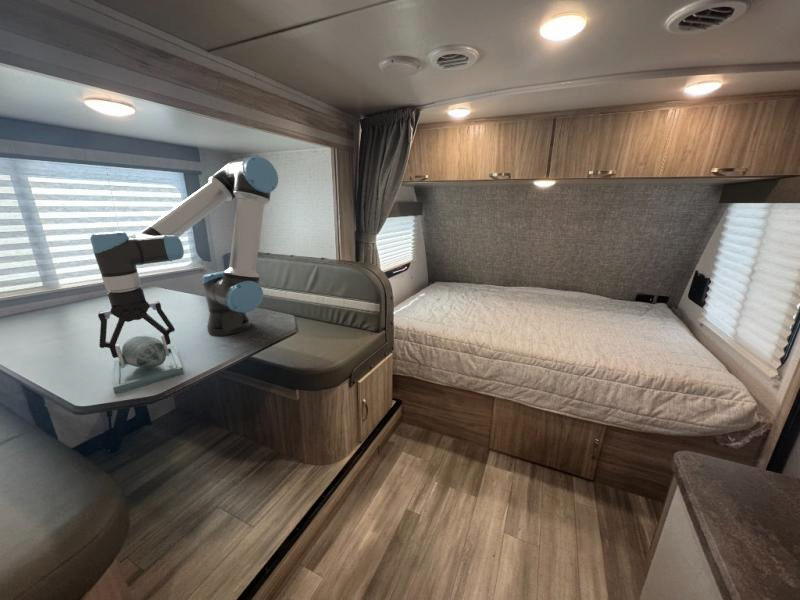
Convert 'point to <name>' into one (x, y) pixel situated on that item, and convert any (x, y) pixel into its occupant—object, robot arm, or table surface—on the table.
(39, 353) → the table surface
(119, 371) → the tray
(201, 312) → the table surface
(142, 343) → the streaked grey egg
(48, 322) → the table surface
